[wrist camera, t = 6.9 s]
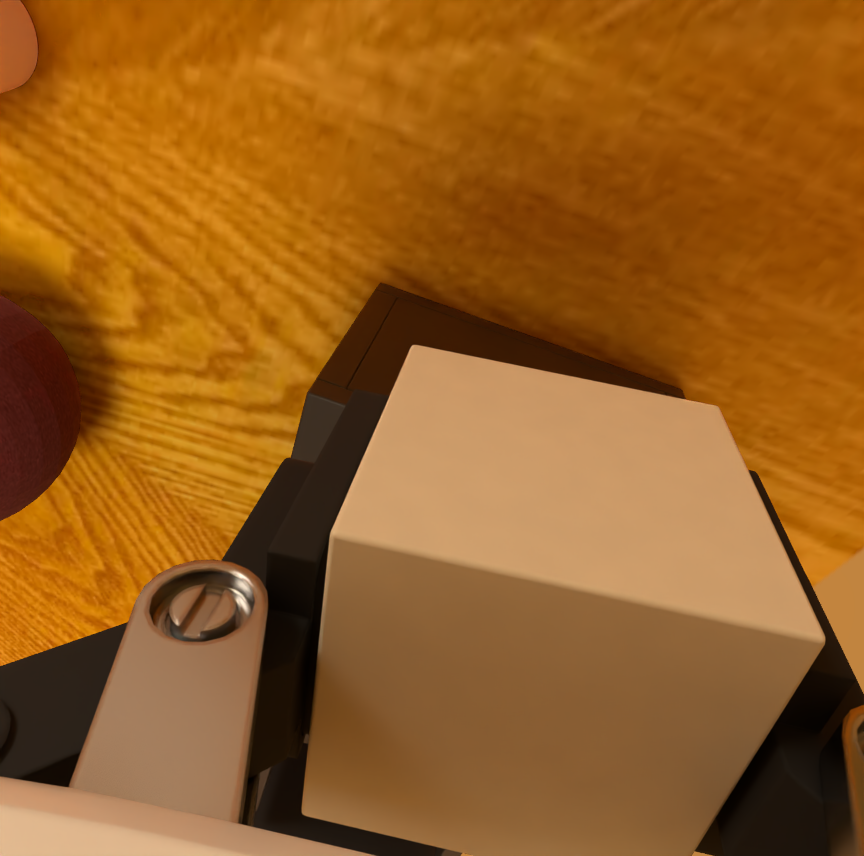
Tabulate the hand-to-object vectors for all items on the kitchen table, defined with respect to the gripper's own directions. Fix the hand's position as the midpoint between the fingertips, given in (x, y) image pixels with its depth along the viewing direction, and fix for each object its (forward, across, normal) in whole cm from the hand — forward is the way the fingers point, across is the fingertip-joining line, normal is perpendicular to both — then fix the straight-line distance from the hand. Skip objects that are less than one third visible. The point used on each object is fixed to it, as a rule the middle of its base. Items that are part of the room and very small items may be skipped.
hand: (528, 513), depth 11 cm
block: (0, 0, 0) cm, 0 cm away
